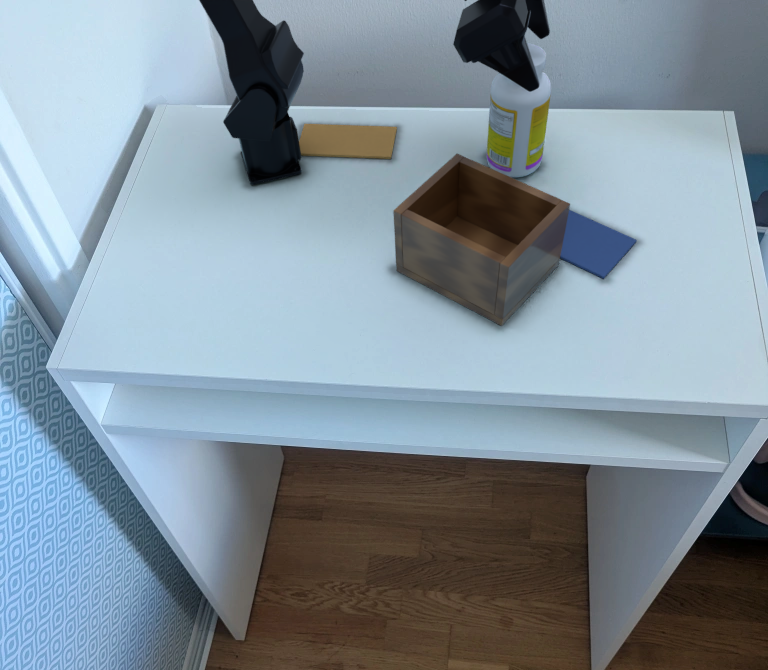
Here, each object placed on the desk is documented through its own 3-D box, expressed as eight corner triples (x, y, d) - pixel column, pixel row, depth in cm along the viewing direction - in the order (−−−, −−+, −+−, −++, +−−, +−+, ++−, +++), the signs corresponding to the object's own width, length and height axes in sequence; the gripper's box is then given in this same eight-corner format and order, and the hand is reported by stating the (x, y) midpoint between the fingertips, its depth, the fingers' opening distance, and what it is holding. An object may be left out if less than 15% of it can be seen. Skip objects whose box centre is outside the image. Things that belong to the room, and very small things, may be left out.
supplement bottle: (538, 143, 93) (553, 35, 82) (543, 179, 90) (559, 71, 79) (484, 146, 94) (491, 38, 82) (487, 181, 90) (495, 74, 79)
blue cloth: (510, 234, 86) (510, 232, 85) (544, 200, 88) (544, 198, 88) (603, 279, 82) (604, 276, 81) (636, 241, 84) (637, 239, 84)
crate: (396, 270, 84) (393, 210, 77) (454, 215, 88) (456, 153, 81) (501, 326, 79) (508, 267, 72) (558, 265, 83) (570, 203, 76)
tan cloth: (295, 155, 95) (295, 153, 94) (304, 125, 98) (304, 123, 97) (391, 159, 93) (390, 156, 93) (397, 128, 96) (397, 126, 96)
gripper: (533, -102, 57) (611, 78, 67) (559, -204, 66) (624, -31, 76) (412, -21, 64) (500, 132, 74) (450, -124, 72) (524, 26, 83)
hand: (540, 61), depth 76 cm, fingers open, 9 cm apart
